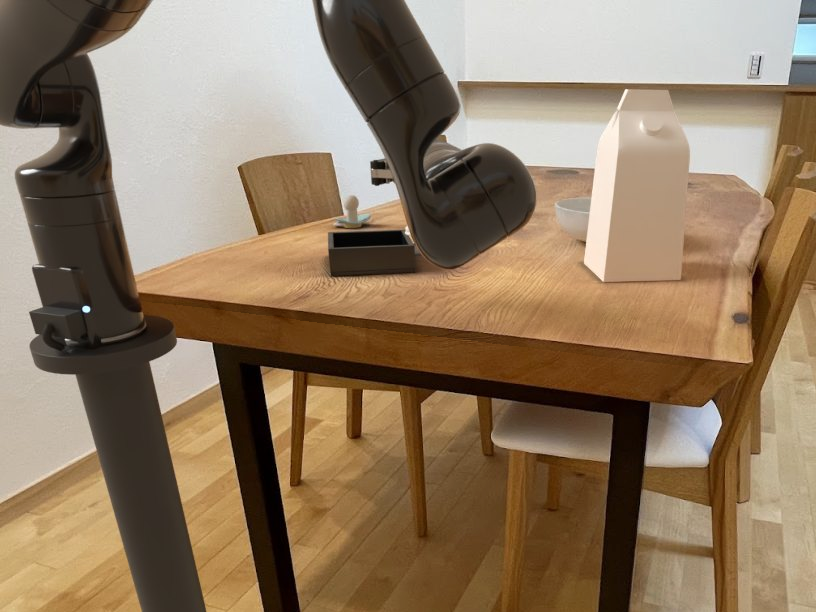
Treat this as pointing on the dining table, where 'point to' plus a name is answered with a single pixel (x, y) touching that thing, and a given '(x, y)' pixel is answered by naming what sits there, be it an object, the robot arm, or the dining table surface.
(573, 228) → the serving bowl
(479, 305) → the dining table surface
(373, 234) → the dark grey open box
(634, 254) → the milk
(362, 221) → the pacifier
